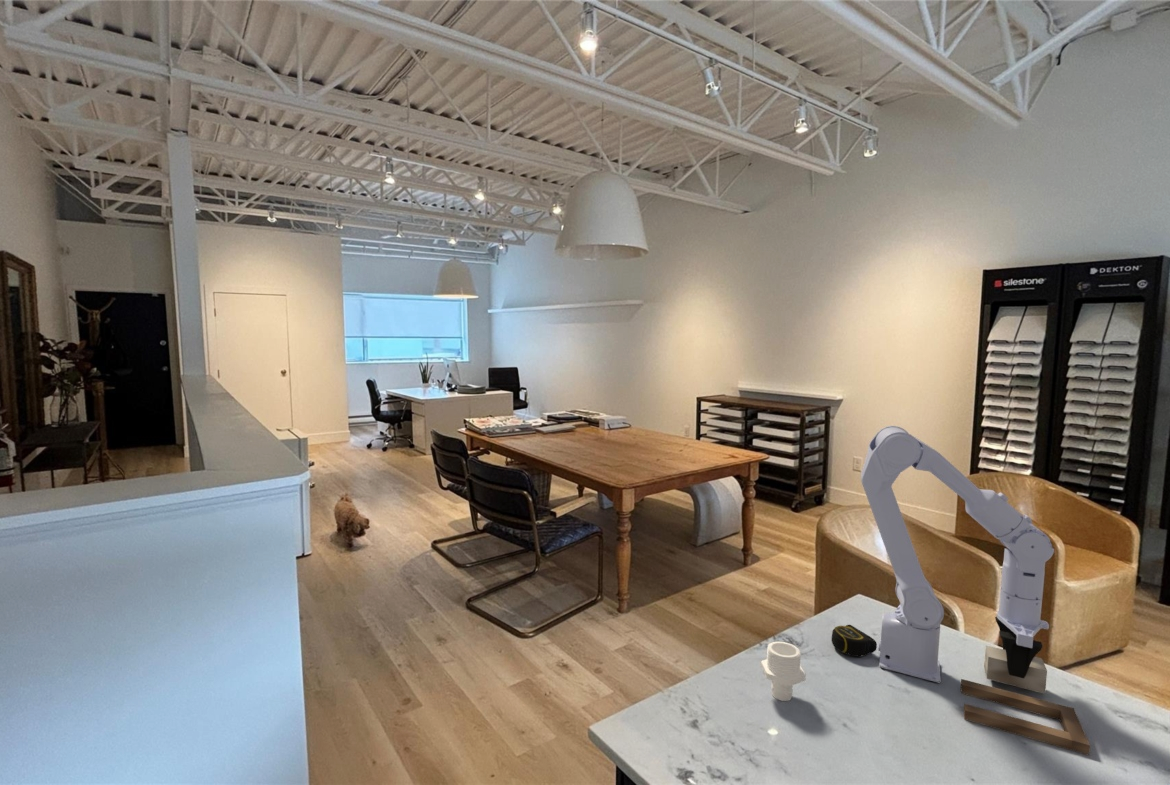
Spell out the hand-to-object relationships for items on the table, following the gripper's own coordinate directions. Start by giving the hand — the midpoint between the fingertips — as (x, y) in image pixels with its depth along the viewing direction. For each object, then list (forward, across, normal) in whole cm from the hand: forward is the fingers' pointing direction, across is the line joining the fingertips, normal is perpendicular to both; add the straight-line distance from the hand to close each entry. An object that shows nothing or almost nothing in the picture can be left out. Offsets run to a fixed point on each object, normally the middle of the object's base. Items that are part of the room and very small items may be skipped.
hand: (1014, 668), depth 99 cm
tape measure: (+4, -2, +25) cm, 26 cm away
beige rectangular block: (+2, 0, 0) cm, 2 cm away
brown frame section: (+3, -10, +1) cm, 11 cm away
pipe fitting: (+3, -24, +34) cm, 42 cm away
